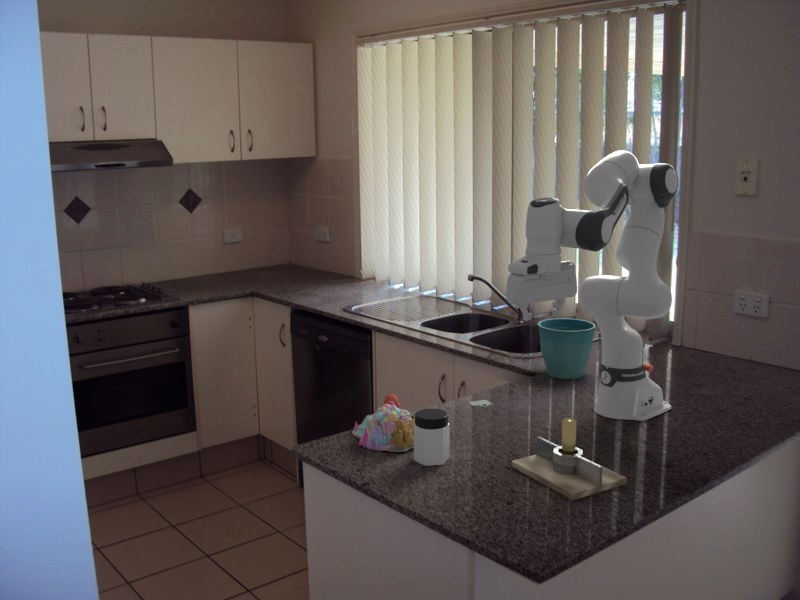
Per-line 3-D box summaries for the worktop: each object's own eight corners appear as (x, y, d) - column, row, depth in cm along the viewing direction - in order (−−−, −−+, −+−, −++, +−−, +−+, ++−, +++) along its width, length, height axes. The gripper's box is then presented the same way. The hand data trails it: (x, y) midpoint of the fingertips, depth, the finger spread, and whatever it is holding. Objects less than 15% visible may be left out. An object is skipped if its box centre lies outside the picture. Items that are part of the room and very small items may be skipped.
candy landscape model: (458, 435, 230) (458, 402, 228) (399, 462, 212) (399, 426, 211) (390, 415, 246) (389, 384, 244) (330, 438, 229) (329, 405, 227)
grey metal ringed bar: (548, 451, 213) (548, 434, 212) (611, 482, 194) (612, 463, 193) (527, 456, 210) (527, 439, 209) (589, 488, 191) (589, 470, 190)
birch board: (562, 453, 215) (562, 447, 215) (626, 484, 197) (626, 477, 197) (511, 466, 208) (511, 460, 207) (572, 500, 189) (573, 493, 189)
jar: (423, 451, 218) (423, 406, 216) (453, 455, 215) (453, 410, 213) (409, 463, 210) (408, 417, 208) (440, 469, 207) (440, 421, 205)
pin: (568, 465, 204) (570, 417, 202) (577, 469, 201) (579, 421, 199) (558, 468, 203) (559, 419, 200) (567, 472, 200) (568, 423, 197)
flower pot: (561, 363, 293) (562, 315, 290) (605, 375, 280) (606, 324, 276) (526, 374, 282) (526, 324, 278) (569, 386, 268) (570, 333, 265)
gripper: (566, 258, 221) (565, 310, 224) (502, 266, 211) (502, 320, 214) (583, 261, 216) (581, 315, 219) (518, 269, 206) (517, 325, 209)
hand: (542, 317), depth 216 cm, fingers open, 8 cm apart
